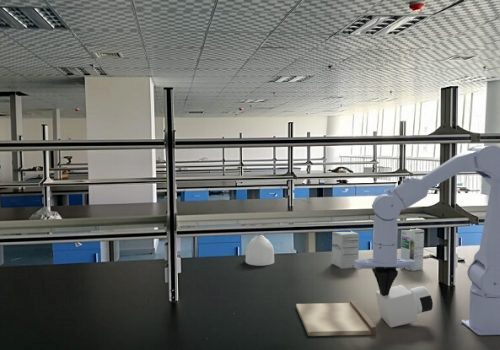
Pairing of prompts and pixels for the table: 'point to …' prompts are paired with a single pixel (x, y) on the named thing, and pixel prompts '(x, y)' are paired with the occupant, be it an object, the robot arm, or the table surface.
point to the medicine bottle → (403, 304)
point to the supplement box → (345, 249)
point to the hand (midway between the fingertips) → (383, 297)
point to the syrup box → (413, 247)
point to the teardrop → (259, 252)
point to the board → (335, 319)
